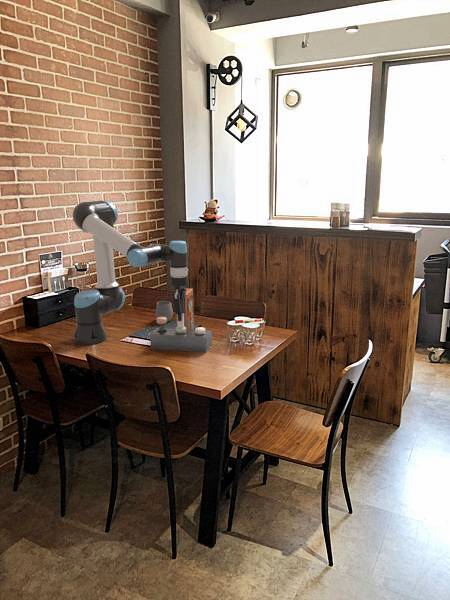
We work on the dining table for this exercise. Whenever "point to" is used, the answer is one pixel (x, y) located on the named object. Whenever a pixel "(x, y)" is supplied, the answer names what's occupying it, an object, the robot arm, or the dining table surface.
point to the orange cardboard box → (188, 310)
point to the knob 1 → (161, 323)
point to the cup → (164, 310)
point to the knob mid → (180, 330)
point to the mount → (180, 340)
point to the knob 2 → (200, 330)
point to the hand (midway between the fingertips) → (180, 327)
